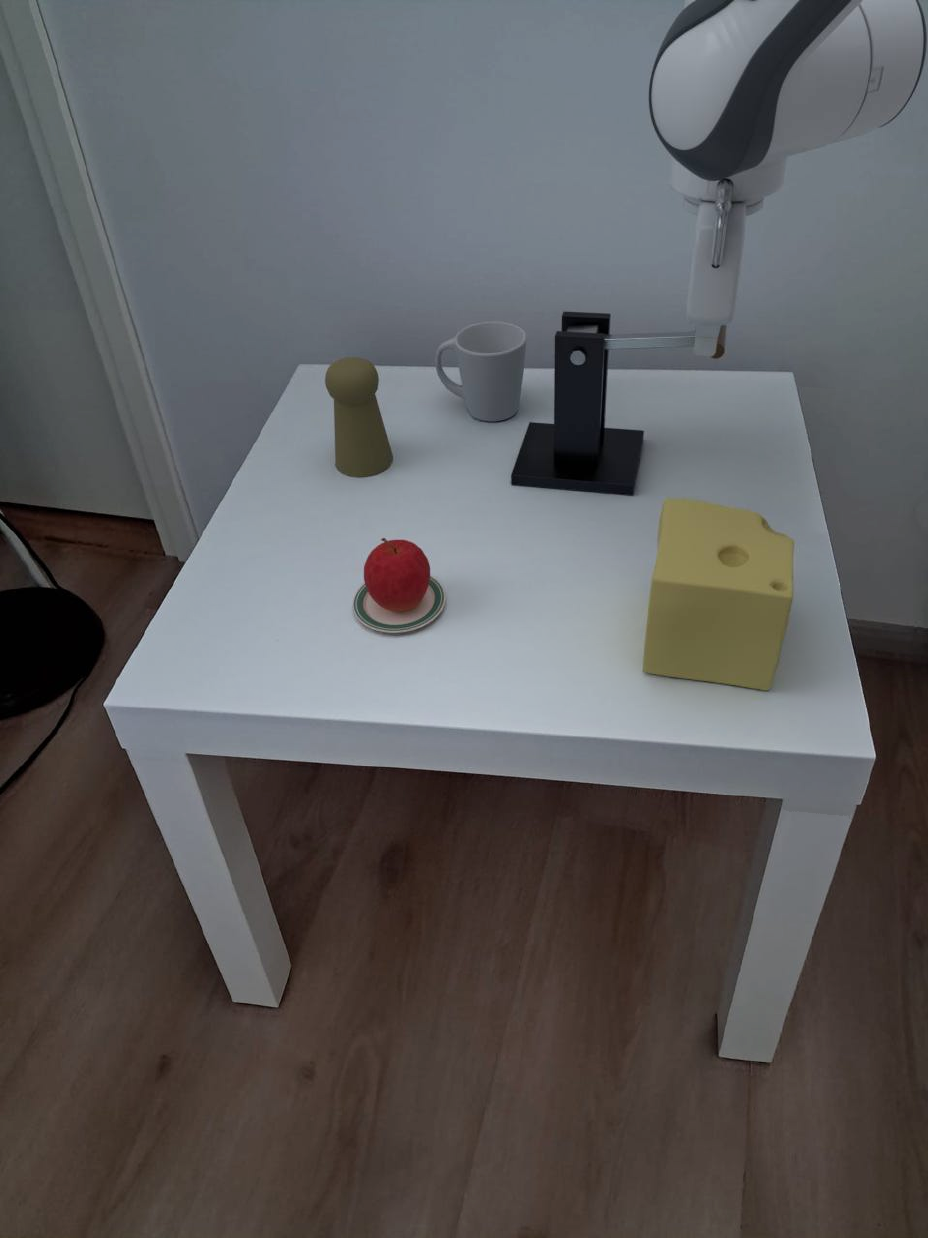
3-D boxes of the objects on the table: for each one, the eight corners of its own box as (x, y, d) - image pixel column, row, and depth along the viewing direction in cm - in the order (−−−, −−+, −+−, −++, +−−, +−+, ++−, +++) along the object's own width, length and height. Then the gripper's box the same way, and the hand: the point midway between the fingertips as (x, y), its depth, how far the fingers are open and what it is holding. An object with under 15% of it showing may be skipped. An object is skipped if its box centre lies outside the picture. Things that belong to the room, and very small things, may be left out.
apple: (365, 571, 84) (356, 513, 80) (453, 577, 83) (448, 518, 78) (343, 633, 78) (331, 573, 74) (436, 640, 77) (430, 579, 73)
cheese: (778, 606, 78) (801, 508, 71) (773, 700, 70) (798, 601, 64) (652, 589, 80) (662, 493, 73) (634, 678, 73) (644, 580, 66)
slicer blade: (726, 337, 85) (727, 312, 84) (724, 363, 82) (725, 337, 80) (572, 342, 89) (570, 318, 88) (564, 368, 86) (562, 343, 84)
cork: (333, 449, 99) (316, 353, 92) (389, 441, 100) (377, 345, 93) (337, 480, 95) (320, 383, 88) (396, 472, 96) (384, 374, 88)
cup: (519, 430, 100) (517, 356, 94) (430, 422, 102) (423, 349, 97) (534, 394, 105) (533, 323, 100) (449, 387, 108) (443, 317, 102)
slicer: (643, 440, 97) (654, 303, 87) (633, 495, 90) (644, 354, 80) (529, 431, 100) (528, 297, 90) (511, 485, 93) (507, 346, 83)
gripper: (769, 209, 65) (741, 388, 75) (770, 122, 80) (746, 281, 89) (677, 207, 67) (661, 383, 76) (694, 122, 81) (679, 278, 90)
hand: (707, 327), depth 83 cm, fingers open, 8 cm apart
